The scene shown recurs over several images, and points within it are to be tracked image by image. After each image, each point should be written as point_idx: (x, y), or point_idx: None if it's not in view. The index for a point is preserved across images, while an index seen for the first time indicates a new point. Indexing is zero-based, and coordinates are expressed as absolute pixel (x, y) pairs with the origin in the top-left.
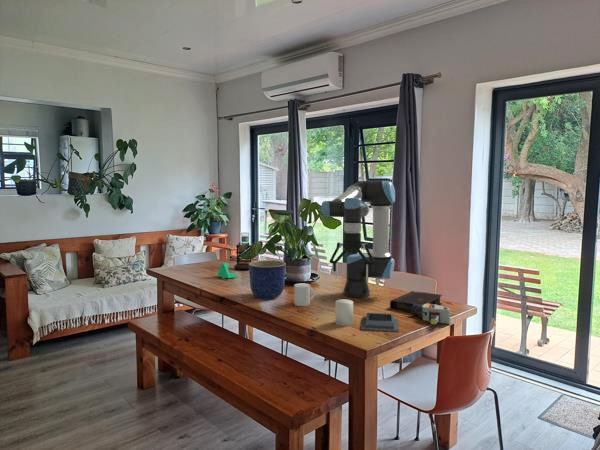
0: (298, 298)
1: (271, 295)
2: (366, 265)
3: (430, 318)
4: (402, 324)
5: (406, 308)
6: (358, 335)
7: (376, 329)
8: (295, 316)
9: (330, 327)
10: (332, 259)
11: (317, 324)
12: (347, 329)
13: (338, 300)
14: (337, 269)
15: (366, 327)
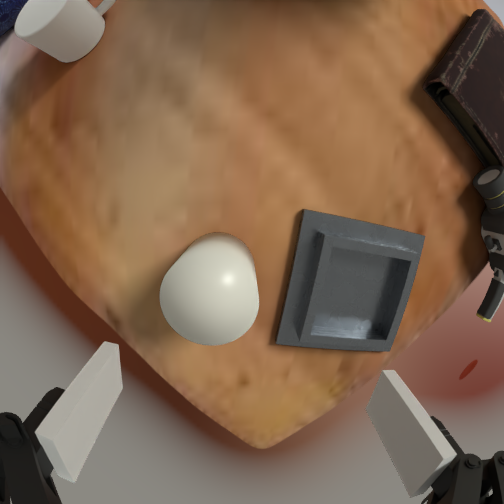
0: (48, 53)
1: (1, 32)
2: (417, 490)
3: (494, 263)
4: (422, 277)
5: (468, 128)
6: (257, 384)
7: (325, 346)
8: (47, 191)
9: None
10: (2, 495)
11: (119, 283)
12: None
13: (174, 278)
14: (90, 438)
15: (294, 342)
